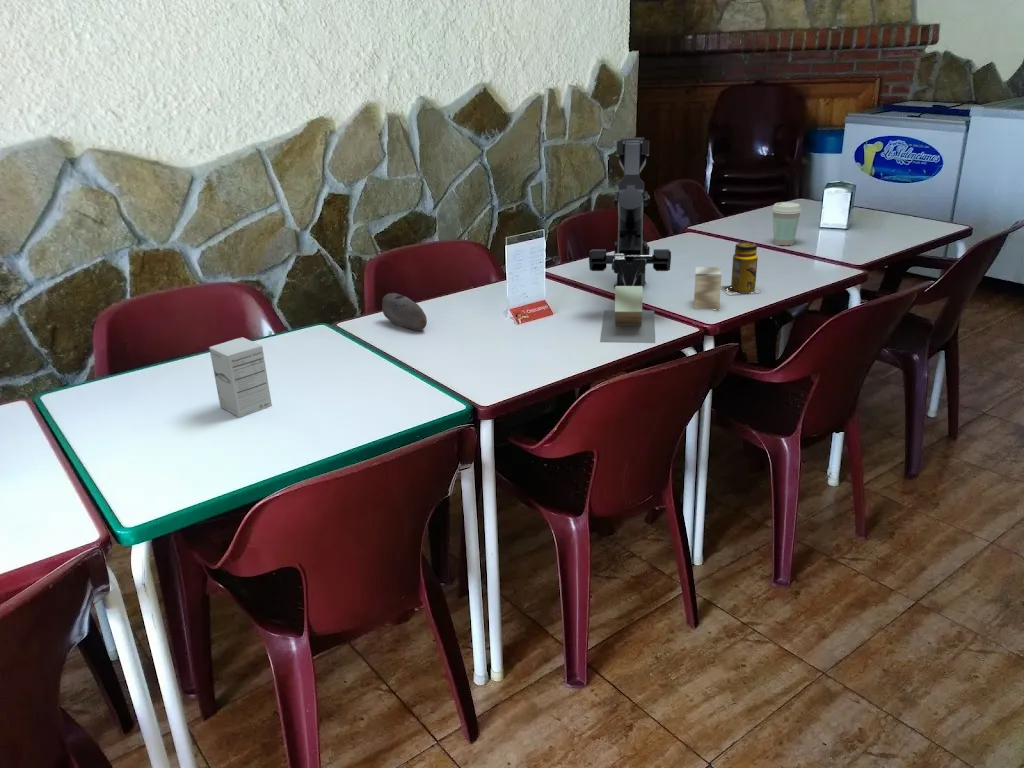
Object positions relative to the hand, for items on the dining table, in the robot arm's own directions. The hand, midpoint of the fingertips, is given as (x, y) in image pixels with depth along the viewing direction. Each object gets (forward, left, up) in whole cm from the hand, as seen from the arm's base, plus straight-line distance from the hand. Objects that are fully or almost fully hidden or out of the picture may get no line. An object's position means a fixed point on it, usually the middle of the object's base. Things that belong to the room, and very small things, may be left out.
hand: (628, 292), depth 195 cm
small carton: (0, +1, -5) cm, 5 cm away
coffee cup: (+11, +88, -8) cm, 89 cm away
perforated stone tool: (-47, -23, -8) cm, 53 cm away
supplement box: (-46, -74, -8) cm, 88 cm away
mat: (+1, -2, -8) cm, 8 cm away
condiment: (+14, +37, -8) cm, 40 cm away
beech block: (+11, +21, -8) cm, 25 cm away
